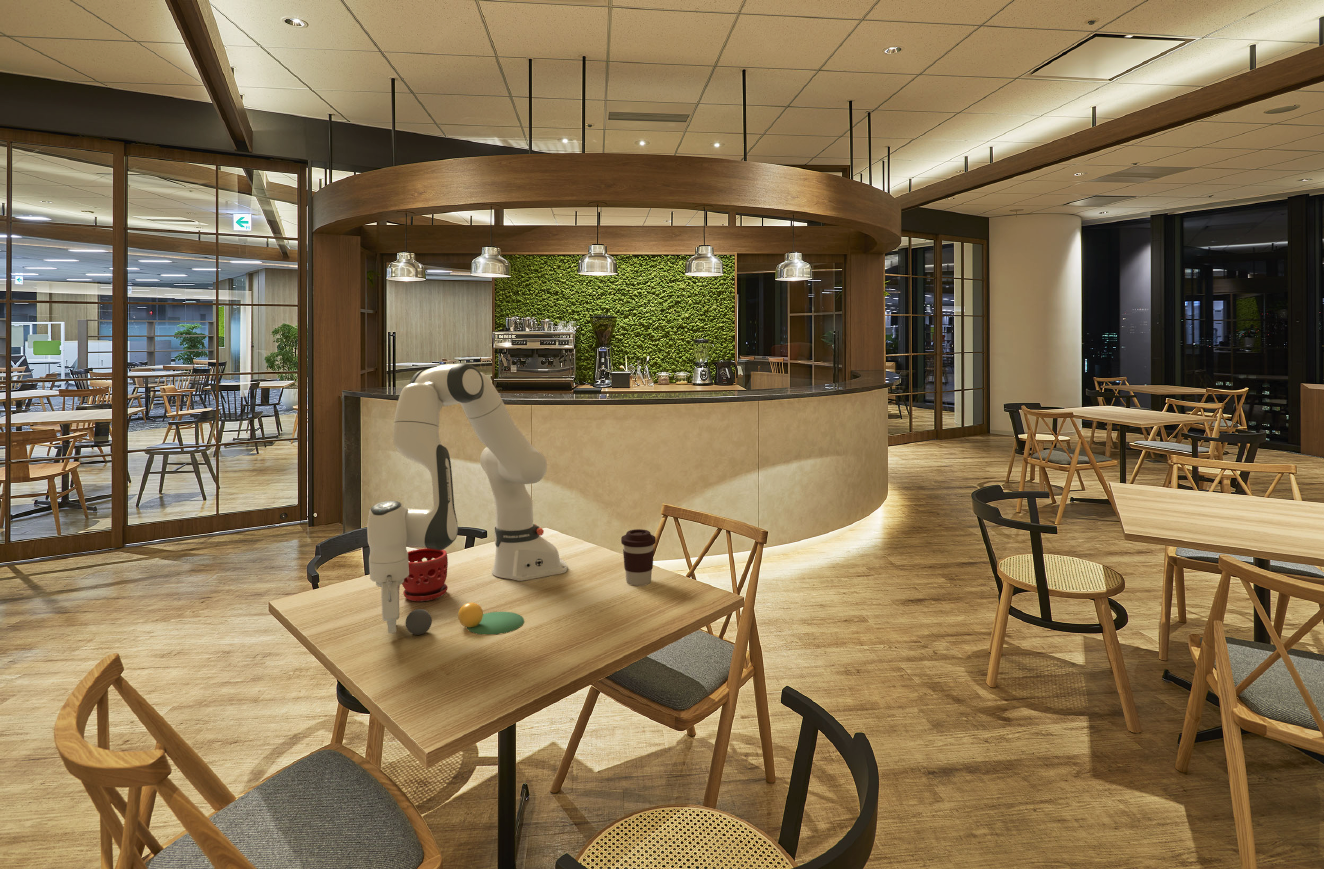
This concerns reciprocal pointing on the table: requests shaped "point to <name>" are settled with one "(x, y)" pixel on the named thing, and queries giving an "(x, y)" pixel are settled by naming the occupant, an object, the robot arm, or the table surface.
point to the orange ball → (470, 615)
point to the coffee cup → (638, 556)
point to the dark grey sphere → (418, 621)
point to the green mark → (498, 623)
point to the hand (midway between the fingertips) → (392, 624)
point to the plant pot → (426, 575)
